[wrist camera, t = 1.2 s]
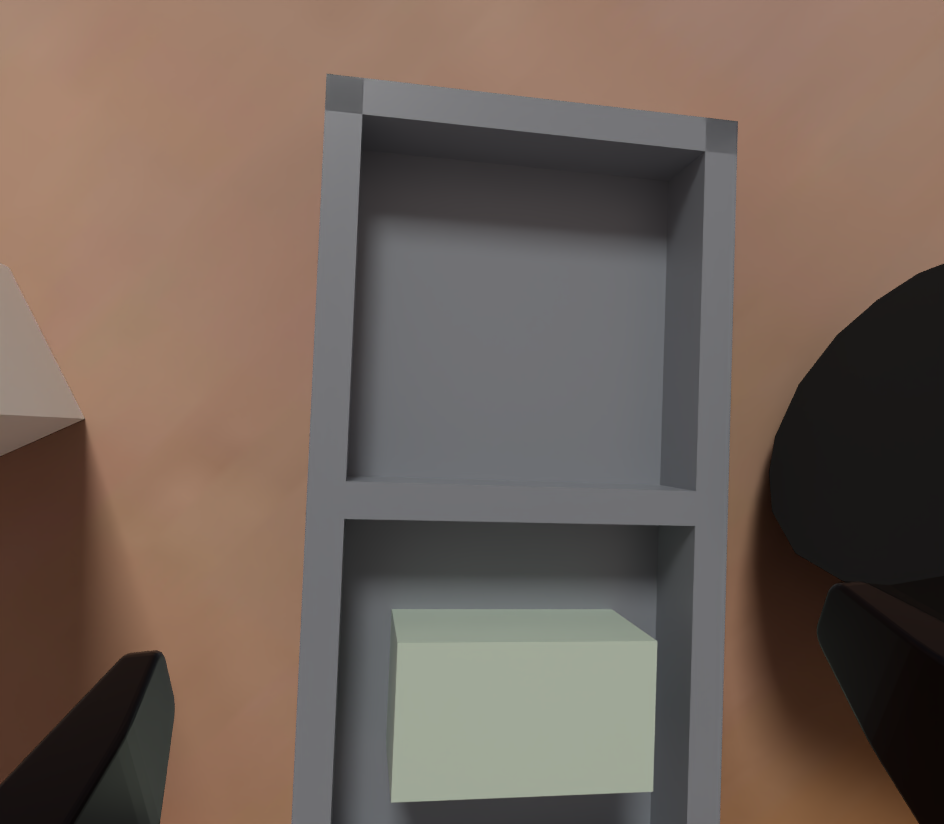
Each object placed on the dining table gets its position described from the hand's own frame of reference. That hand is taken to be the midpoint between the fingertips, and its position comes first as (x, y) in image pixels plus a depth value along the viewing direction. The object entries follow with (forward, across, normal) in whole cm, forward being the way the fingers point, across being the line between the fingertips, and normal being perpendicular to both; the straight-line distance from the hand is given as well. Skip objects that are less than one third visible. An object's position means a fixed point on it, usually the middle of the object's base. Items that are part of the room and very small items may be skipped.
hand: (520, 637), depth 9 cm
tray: (+12, -3, +6) cm, 14 cm away
